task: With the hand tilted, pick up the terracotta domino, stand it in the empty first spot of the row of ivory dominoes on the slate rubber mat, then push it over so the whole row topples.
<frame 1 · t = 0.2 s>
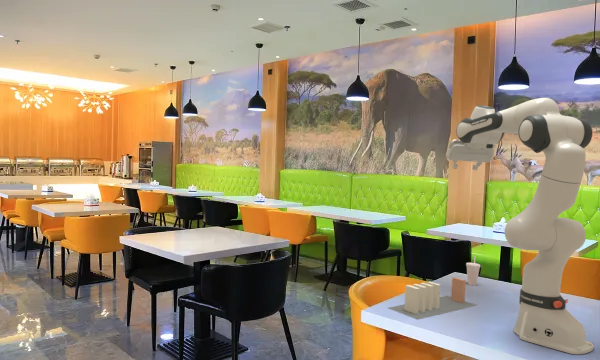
hand: (464, 168, 200), 54 cm above the table, tool tilted 30°, fingers open, 8 cm apart
ivory domino 2: (425, 308, 167), point 1 cm above the table, touching rubber mat
rubber mat: (433, 308, 170), on the table
smoothie: (471, 284, 210), on the table
terracotta domino: (457, 301, 179), point 1 cm above the table, touching rubber mat
ivory domino 4: (411, 311, 163), point 1 cm above the table, touching rubber mat
ivory domino 1: (432, 306, 170), point 1 cm above the table, touching rubber mat
ivory domino 3: (418, 309, 165), point 1 cm above the table, touching rubber mat
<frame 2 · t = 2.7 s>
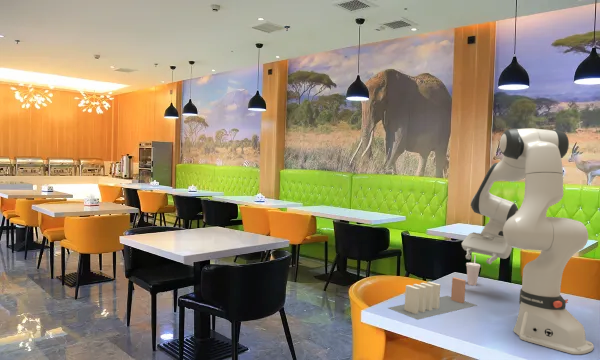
hand: (477, 260, 186), 16 cm above the table, tool tilted 45°, fingers open, 8 cm apart
nothing on the table moved.
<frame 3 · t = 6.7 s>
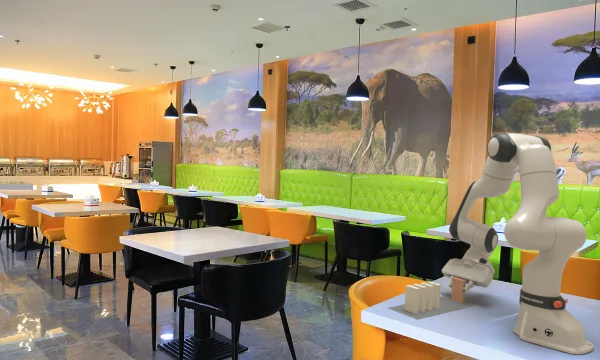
hand: (457, 288, 178), 6 cm above the table, tool tilted 45°, fingers closed on terracotta domino, 5 cm apart
terracotta domino: (457, 301, 179), point 1 cm above the table, touching gripper, rubber mat
everything else where it was.
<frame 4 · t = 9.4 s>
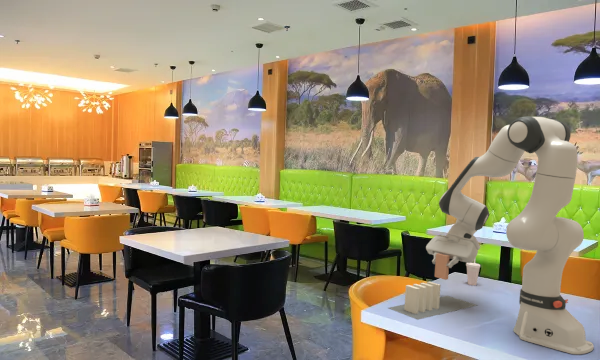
hand: (441, 265, 171), 16 cm above the table, tool tilted 45°, fingers closed on terracotta domino, 5 cm apart
terracotta domino: (441, 277, 172), point 11 cm above the table, touching gripper
everything else where it was.
when the fingers open (7 cm above the table, at t = 12.2 s): terracotta domino drops 1 cm, resting on rubber mat.
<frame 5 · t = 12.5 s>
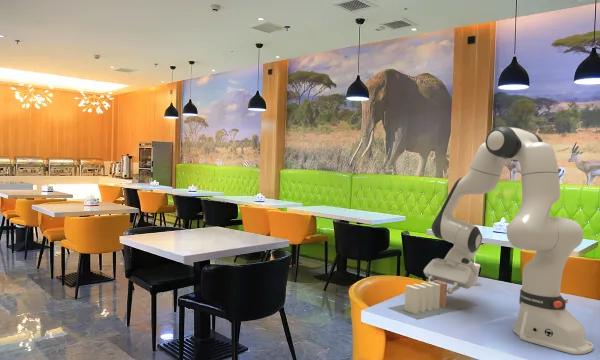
hand: (438, 289, 171), 7 cm above the table, tool tilted 45°, fingers open, 8 cm apart
terracotta domino: (439, 305, 172), point 1 cm above the table, touching rubber mat
everything else where it was.
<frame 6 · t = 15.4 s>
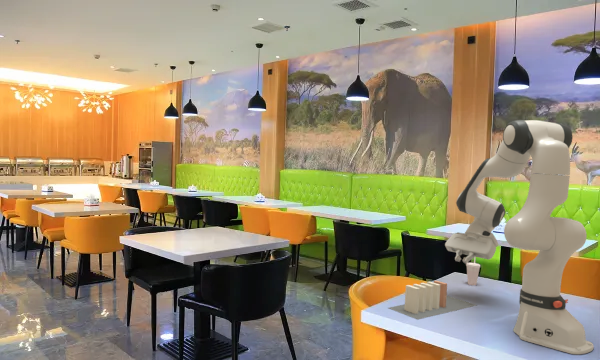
hand: (460, 261, 179), 17 cm above the table, tool tilted 45°, fingers closed
nothing on the table moved.
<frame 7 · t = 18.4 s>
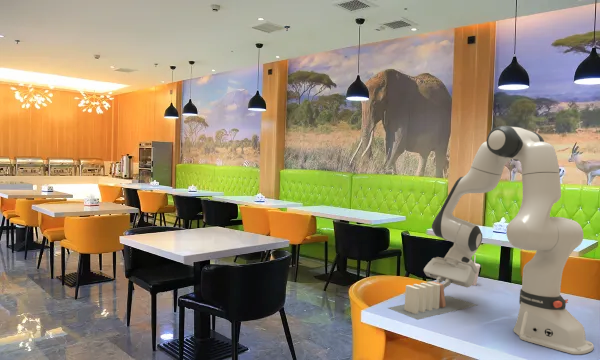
hand: (438, 288, 171), 7 cm above the table, tool tilted 45°, fingers closed, pressing on terracotta domino
terracotta domino: (438, 304, 172), point 1 cm above the table, tilted 16°, touching gripper, rubber mat
everything else where it was.
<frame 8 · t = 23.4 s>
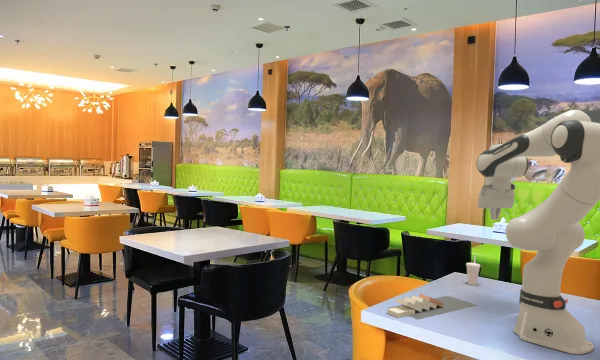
hand: (494, 219, 179), 34 cm above the table, tool pointing down, fingers closed
ivory domino 2: (423, 306, 167), point 1 cm above the table, tilted 67°, touching ivory domino 1, ivory domino 3, rubber mat
terracotta domino: (437, 303, 171), point 1 cm above the table, tilted 67°, touching ivory domino 1
ivory domino 4: (409, 309, 162), point 1 cm above the table, tilted 90°, touching ivory domino 3, rubber mat
ivory domino 1: (430, 305, 169), point 1 cm above the table, tilted 67°, touching ivory domino 2, rubber mat, terracotta domino
ivory domino 3: (416, 308, 164), point 1 cm above the table, tilted 67°, touching ivory domino 2, ivory domino 4
everything else where it was.
at the end: terracotta domino inside the target area (0.1 cm from its centre), point 1.4 cm above the table; terracotta domino tilted 67°; ivory domino 4 tilted 90° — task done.
